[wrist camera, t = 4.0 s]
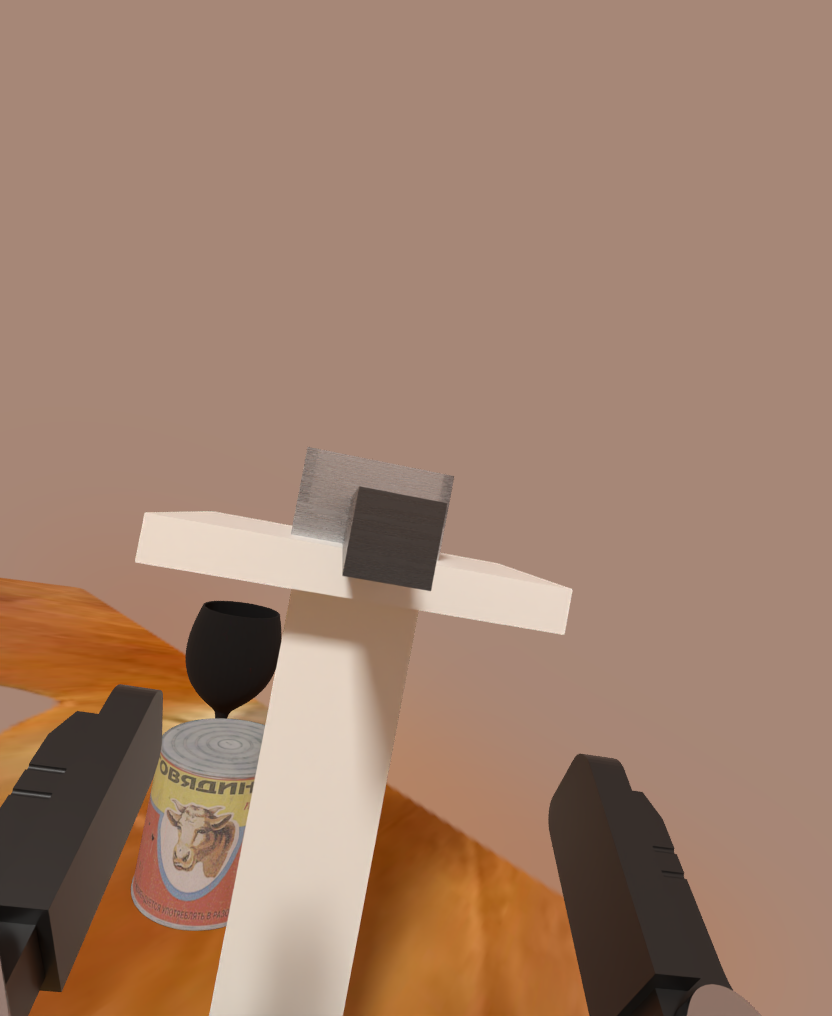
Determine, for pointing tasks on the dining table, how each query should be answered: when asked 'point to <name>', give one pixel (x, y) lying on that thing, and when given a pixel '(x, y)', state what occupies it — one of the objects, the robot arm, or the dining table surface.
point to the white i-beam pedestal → (323, 741)
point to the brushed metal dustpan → (375, 516)
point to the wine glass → (232, 653)
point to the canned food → (196, 823)
